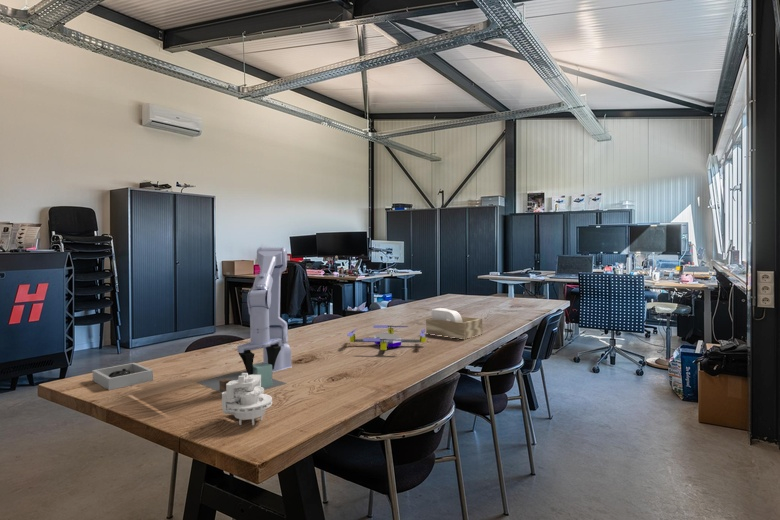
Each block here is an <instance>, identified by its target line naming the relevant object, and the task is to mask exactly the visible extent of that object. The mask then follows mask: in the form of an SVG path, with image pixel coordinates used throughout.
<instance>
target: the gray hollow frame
mask: <svg viewBox="0 0 780 520" xmlns="http://www.w3.org/2000/svg"><path fill="white" fill-rule="evenodd" d="M122 369H126V370H127V371H130V374H128V375H123V376H118V377H113V378H111V377H109V374H110V373H112V372H115V371H122ZM153 381H154V369H151V368H149V367H147V366H144V365H141V364H139V363H136V362H132V363H131V362H130V363H125V364H119V365H114V366H109V367H103V368H98V369H94V370H93V369H92V382H94V383H96V384H98V385H99V386H101V387H102V388H104V389H106V390H108V391H112V390H117V389H121V388H125V387H131V386H134V385H139V384H145V383H149V382H153Z"/></svg>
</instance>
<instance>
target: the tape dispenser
mask: <svg viewBox="0 0 780 520" xmlns="http://www.w3.org/2000/svg"><path fill="white" fill-rule="evenodd" d="M461 316H462V315H461V314H460V313H459V312H458V311H456V310H454V309H450V308H443V307H439V308H438V307H437V308H432V309H431V318H432V319H436V320H444V321H453V322H461V323H462V317H463V316H462V317H461Z"/></svg>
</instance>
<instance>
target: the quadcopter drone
mask: <svg viewBox="0 0 780 520" xmlns="http://www.w3.org/2000/svg"><path fill="white" fill-rule="evenodd" d="M372 328H376V329H379V328H380V329H386V328H387V332H381V333H376V334H374V335H373V337H370V338H368V337H367V338H366V337H365V338H356V334H355V333H354V332H356V331H357V330H358V328H355V329H353V330H352V331H349V332H348V333H347V337H349V342H350V343H374V344H377V345H376V346H378V345H380V346H379V347H380V350H381V351H387V349H392V347H393V348H398V347H401V346H402V343H413V344H414V343H415V344H416V343H418V344H419V343H427V336H426V328H423V329H421V331H420V333H419V334H420V335H419V339H415V338H414V339H413V338H412V339H411V338H410V339H407V338H404V339H402V337H401V336H400V335H398V334H396V333H395V334H394V328H409V326H408V325H388V324H383V325H382V324H380V325H379V324H378V325H377V324H376V325H374V324H373V327H372ZM397 346H398V347H397ZM387 347H388V348H387Z"/></svg>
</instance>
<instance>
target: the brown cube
mask: <svg viewBox="0 0 780 520" xmlns="http://www.w3.org/2000/svg"><path fill="white" fill-rule="evenodd" d="M230 381H232V380H230V379H223V380H219V384H220V391H223V392H225V391H226V384H227V383H228V382H230Z"/></svg>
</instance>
